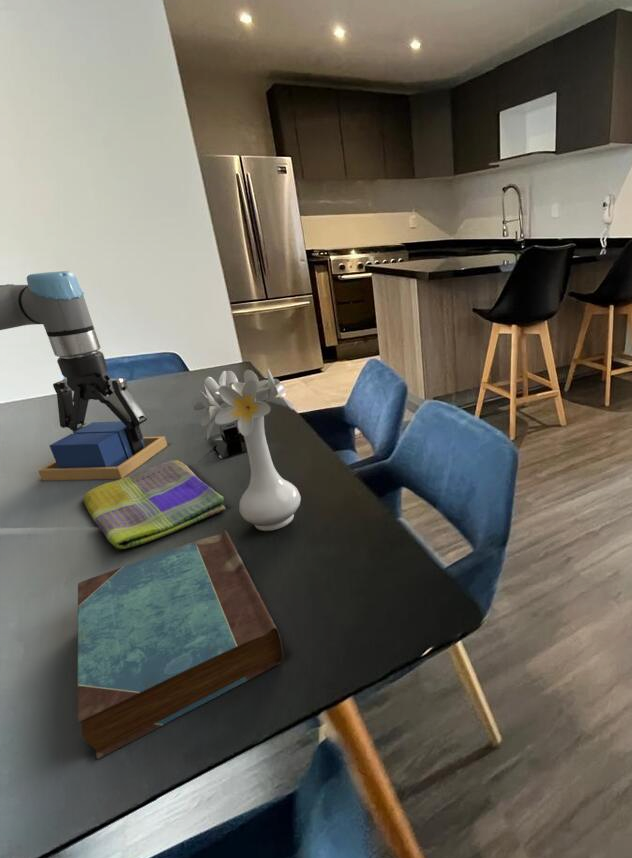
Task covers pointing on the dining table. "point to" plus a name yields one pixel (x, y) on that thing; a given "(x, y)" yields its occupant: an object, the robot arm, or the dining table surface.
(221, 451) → the black box
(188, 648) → the book
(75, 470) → the wooden tray
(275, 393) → the flower vase
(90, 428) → the pad
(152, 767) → the dining table surface
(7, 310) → the robot arm
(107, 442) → the pad
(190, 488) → the dish towel
